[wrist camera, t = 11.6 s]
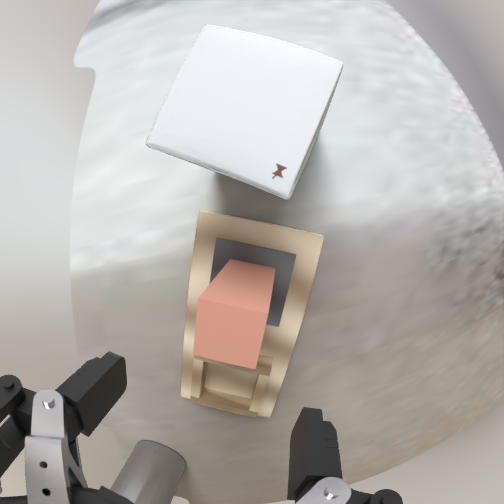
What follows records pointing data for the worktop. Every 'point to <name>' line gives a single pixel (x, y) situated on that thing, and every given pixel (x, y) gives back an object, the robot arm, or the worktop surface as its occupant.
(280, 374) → the board
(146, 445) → the robot arm
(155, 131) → the supplement box
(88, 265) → the worktop surface
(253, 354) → the block
